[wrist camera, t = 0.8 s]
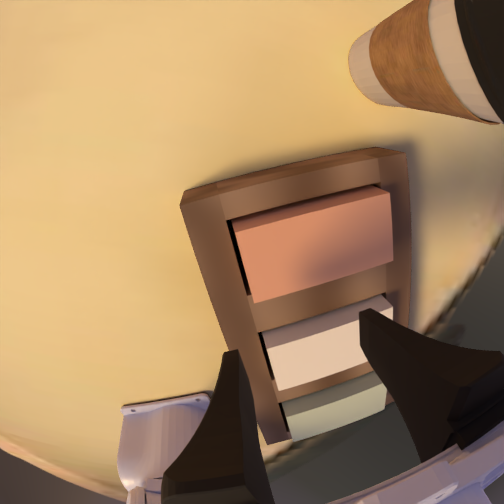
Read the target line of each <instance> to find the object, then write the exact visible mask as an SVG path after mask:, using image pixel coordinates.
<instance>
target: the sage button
mask: <svg viewBox="0 0 504 504" xmlns="http://www.w3.org/2000/svg"><path fill="white" fill-rule="evenodd" d="M386 393H387V389H386V387H385V386H384V384H383V383H382V381H381V380H380V378H379V377H378V376H377V374H376V373H375V371H371V372H369V373H366V374H364V375H361V376H359V377H356V378H353V379H351V380H348V381H345V382H342V383H340V384H337V385H334V386H331V387H328V388H325V389H322V390H319V391H316V392H313V393H310V394H307V395H304V396H300V397H297V398H294V399H290V400H287V401H284V402H282V406H283V409H284V413H285V416H286V420H287V423H288V426H289V430H290V433H291V436H292V439H293V442H295V441H298V440H302V439H305V438H308V437H311V436H315V435H318V434H321V433H324V432H327V431H330V430H333V429H335V428H338V427H341V426H344V425H347V424H349V423H352V422H355V421H357V420H360V419H362V418H365V417H367V416H370V415H372V414H374V413H377V412H379V411H382V410H384V408H385V400H386Z"/></svg>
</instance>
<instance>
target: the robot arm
mask: <svg viewBox="0 0 504 504" xmlns="http://www.w3.org/2000/svg"><path fill="white" fill-rule="evenodd" d="M359 336H360V347H361V349H362V351H363V353H364V355H365V357H366V358H367V360H368V362H369V364H370V365H371V367H372V368H373V370H374V371H375V373H376V374H377V376H378V377H379V378H380V380H381V381H382V383H383V384H384V386H385V387H386V389H387V390H388V392H389V393H390V394H391V396H392V398H393V399H394V401H395V403H396V405H397V407H398V408H399V411H400V413H401V415H402V417H403V419H404V421H405V423H406V425H407V427H408V429H409V432H410V434H411V437H412V439H413V441H414V444H415V446H416V449H417V452H418V455H419V457H420V460H421V463H422V464H420V465H418V466H416V467H414V468H412V469H410V470H408V471H406V472H404V473H402V474H400V475H398V476H396V477H394V478H392V479H389V480H387V481H385V482H382V483H380V484H378V485H375V486H373V487H371V488H368V489H366V490H363V491H361V492H358V493H355V494H353V495H350V496H347V497H344V498H341V499H338V500H336V501H332V502H329V503H326V504H491V502H490V501H489V499H488V497H487V496H486V494H485V492H484V491H483V489H484V488H486V487H487V486H488V485H490V484H491V483H492V482H493V481H495V480H496V479H497V478H498V477H499V476H501V475H502V474H503V473H504V355H503V354H502V353H501V352H500V351H485V350H484V351H483V350H475V349H468V348H463V347H458V346H454V345H450V344H447V343H443V342H440V341H437V340H434V339H431V338H429V337H426V336H424V335H421V334H419V333H417V332H415V331H413V330H410V329H408V328H406V327H404V326H403V325H401V324H399V323H397V322H395V321H393V320H391V319H390V318H388V317H386V316H384V315H383V314H381V313H379V312H377V311H376V310H374V309H372V308H369V309H366V310H363V311H360V312H359ZM197 398H199V399H197ZM120 411H121V413H122V414H123V415H124V418H123V423H122V430H121V436H120V442H119V449H118V456H117V466H118V472H119V476H120V479H121V481H122V483H123V485H124V487H125V488H126V489H127V490H128V491H129V493H128V497H127V503H126V504H275V502H274V499H273V496H272V492H271V488H270V485H269V481H268V477H267V473H266V469H265V465H264V461H263V457H262V453H261V449H260V444H259V438H258V430H257V422H256V413H255V405H254V398H253V394H252V390H251V385H250V381H249V378H248V375H247V372H246V370H245V367H244V364H243V361H242V359H241V356H240V353H239V350H238V349H235V350H232V351H228V352H224V354H223V356H222V363H221V368H220V372H219V376H218V380H217V383H216V386H215V390H214V392H213V395H212V398H211V400H210V398H209V396H208V395H207V394H205V393H201V394H196V395H191V396H186V397H180V398H175V399H169V400H163V401H157V402H151V403H144V404H137V405H130V406H123V407H121V410H120Z"/></svg>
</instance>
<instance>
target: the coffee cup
mask: <svg viewBox="0 0 504 504" xmlns="http://www.w3.org/2000/svg"><path fill="white" fill-rule="evenodd" d="M348 60H349V69H350V74H351V76H352V79H353V81H354V82H355V84H356V86H357V87H358V89H359V90H360V91H361V92H362V93H363V94H364V95H365V96H366V97H367V98H368V99H370V100H372V101H373V102H375V103H378V104H381V105H386V106H394V107H405V108H412V109H417V110H424V111H430V112H435V113H441V114H446V115H451V116H456V117H460V118H465V119H469V120H474V121H478V122H482V123H486V124H490V125H493V124H500V123H502V124H504V0H413V1H412V2H410V3H409V4H407V5H406V6H404V7H403V8H401V9H400V10H398V11H397V12H395V13H394V14H392V15H391V16H389V17H388V18H386V19H385V20H383V21H382V22H381V23H380V24H378V25H377V26H375V27H374V28H372V29H371V30H369V31H368V32H366V33H365V34H363V35H362V36H360V37H359V38H358V39H357V40H356V41H355V42H354V43H353V45H352V47H351V49H350V52H349V58H348Z"/></svg>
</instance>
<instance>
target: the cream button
mask: <svg viewBox="0 0 504 504" xmlns="http://www.w3.org/2000/svg"><path fill="white" fill-rule="evenodd" d="M369 308H372V309H374V310H376V311H377V312H379V313H381V314H383V315H384V316H386V317H388V318H390V319H391V320H393V306H392V305H391V304H390V303H389V302H388V301H387V300H386V299H385V298H384V297H383V296H382V295H381V294H378V295H375V296H373V297H370V298H367V299H364V300H361V301H358V302H355V303H353V304H350V305H347V306H344V307H341V308H338V309H335V310H332V311H328V312H325V313H322V314H319V315H316V316H313V317H310V318H306V319H303V320H300V321H297V322H293V323H290V324H286V325H283V326H280V327H276V328H273V329H269V330H266V331H262V335H263V339H264V342H265V346H266V350H267V353H268V357H269V360H270V363H271V367H272V370H273V374H274V377H275V380H276V384H277V387H278V390H279V391H281V390H284V389H288V388H291V387H295V386H298V385H301V384H304V383H308V382H311V381H314V380H317V379H320V378H323V377H326V376H329V375H332V374H335V373H338V372H340V371H343V370H346V369H349V368H351V367H354V366H357V365H359V364H362V363H365V362H367V361H368V360H367V358H366V357H365V355H364V353H363V351H362V349H361V347H360V336H359V312H360V311H363V310H366V309H369Z"/></svg>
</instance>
